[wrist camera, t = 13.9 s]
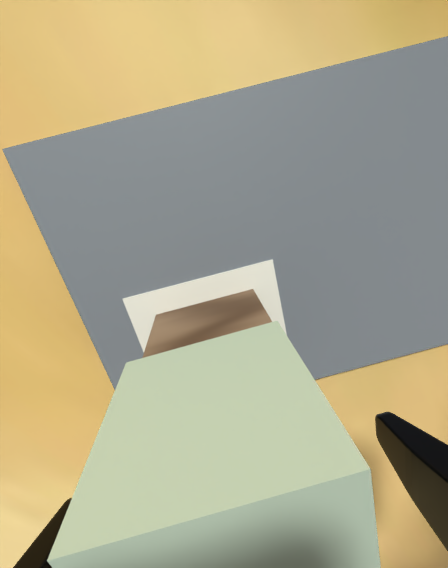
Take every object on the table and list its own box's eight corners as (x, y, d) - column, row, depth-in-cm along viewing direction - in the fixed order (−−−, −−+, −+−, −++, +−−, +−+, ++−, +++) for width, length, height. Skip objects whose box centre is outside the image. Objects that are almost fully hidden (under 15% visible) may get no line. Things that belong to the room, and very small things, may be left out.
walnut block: (253, 288, 14) (282, 340, 9) (271, 369, 16) (304, 448, 11) (155, 314, 14) (135, 379, 9) (184, 393, 15) (180, 482, 11)
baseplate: (470, 34, 12) (486, 25, 11) (454, 334, 17) (465, 340, 16) (11, 151, 12) (0, 148, 11) (135, 420, 17) (132, 430, 16)
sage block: (277, 320, 9) (370, 468, 4) (301, 434, 11) (386, 631, 6) (126, 362, 9) (46, 561, 4) (174, 470, 10) (157, 698, 6)
